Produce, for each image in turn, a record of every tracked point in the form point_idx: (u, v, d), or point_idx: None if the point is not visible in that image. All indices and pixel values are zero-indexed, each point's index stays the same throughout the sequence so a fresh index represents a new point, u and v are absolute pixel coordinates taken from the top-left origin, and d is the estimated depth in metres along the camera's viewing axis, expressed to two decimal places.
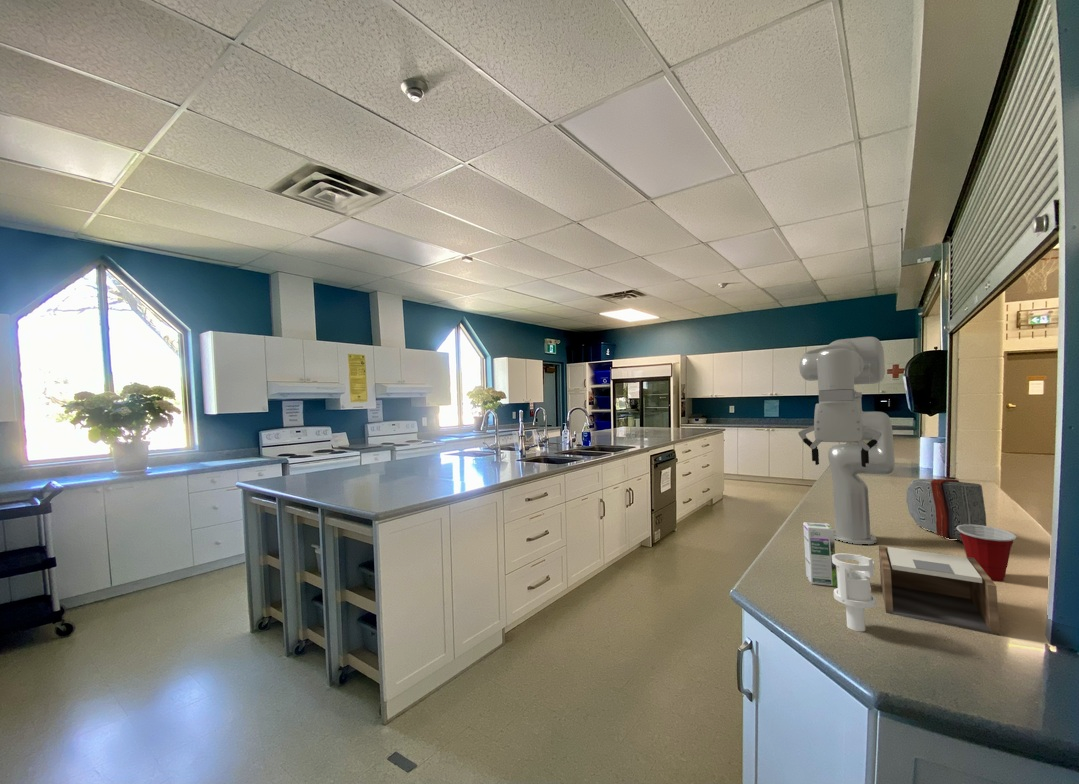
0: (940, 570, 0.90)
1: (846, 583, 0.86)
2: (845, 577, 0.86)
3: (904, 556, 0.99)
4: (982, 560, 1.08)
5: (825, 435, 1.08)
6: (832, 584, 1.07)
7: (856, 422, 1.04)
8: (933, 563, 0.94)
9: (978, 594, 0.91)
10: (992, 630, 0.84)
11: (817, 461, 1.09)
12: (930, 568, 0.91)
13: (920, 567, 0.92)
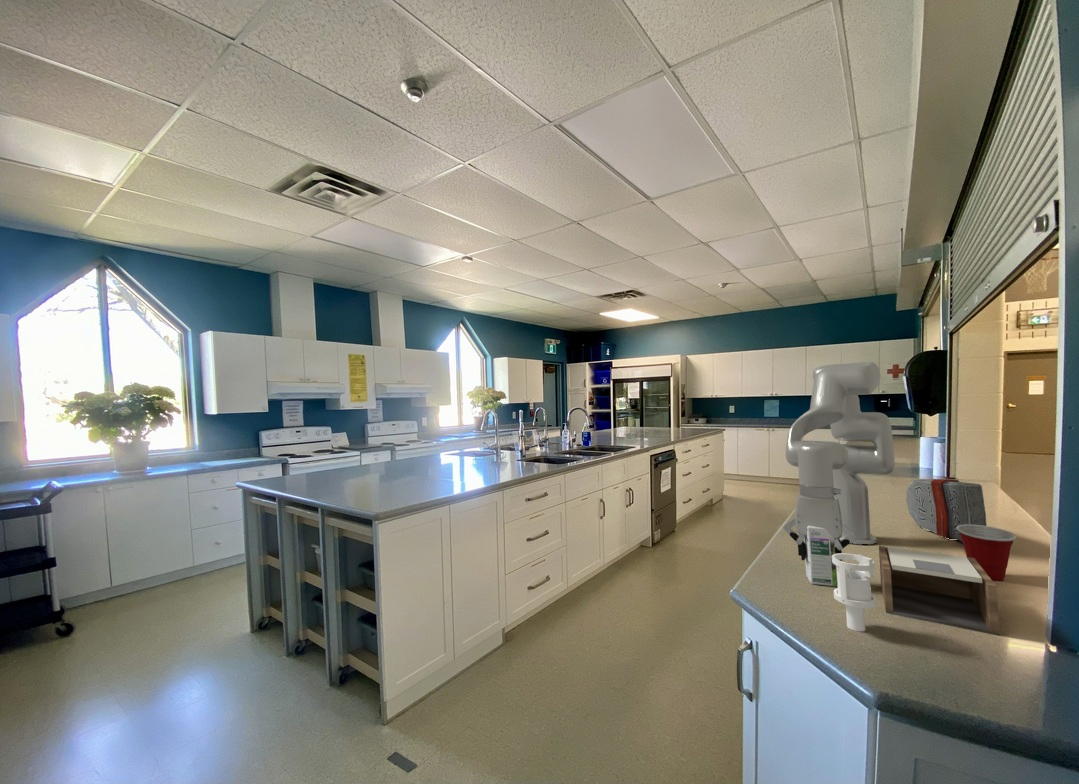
0: (940, 570, 0.90)
1: (846, 583, 0.86)
2: (845, 577, 0.86)
3: (904, 556, 0.99)
4: (982, 559, 1.08)
5: (805, 529, 1.10)
6: (832, 584, 1.07)
7: (835, 519, 1.07)
8: (933, 563, 0.94)
9: (978, 594, 0.91)
10: (992, 630, 0.84)
11: (803, 557, 1.11)
12: (930, 568, 0.91)
13: (920, 567, 0.92)
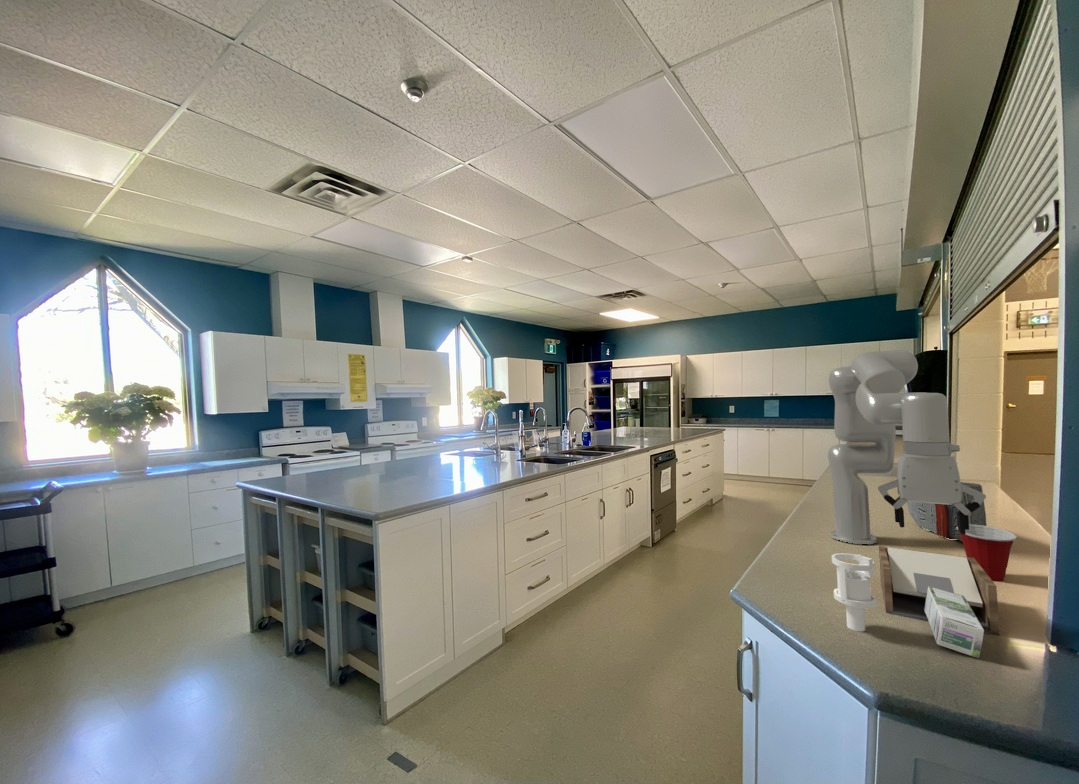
0: None
1: (846, 583, 0.86)
2: (845, 577, 0.86)
3: (904, 566, 0.99)
4: (982, 560, 1.08)
5: (913, 494, 0.92)
6: None
7: (953, 481, 0.88)
8: (934, 578, 0.94)
9: None
10: (992, 630, 0.84)
11: (903, 523, 0.94)
12: None
13: (921, 590, 0.92)
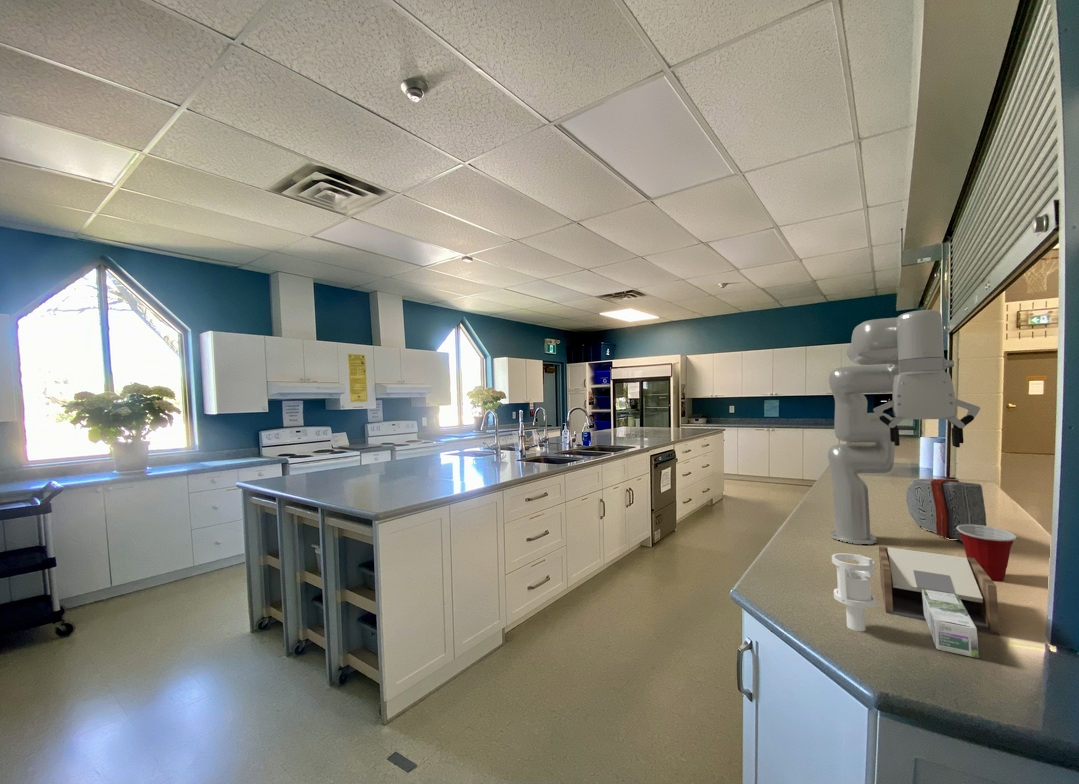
0: (941, 589, 0.90)
1: (846, 583, 0.86)
2: (845, 577, 0.86)
3: (904, 564, 0.99)
4: (982, 559, 1.08)
5: (908, 411, 0.93)
6: None
7: (948, 395, 0.89)
8: (934, 575, 0.94)
9: None
10: (992, 630, 0.84)
11: (898, 442, 0.94)
12: (931, 586, 0.91)
13: (921, 585, 0.92)
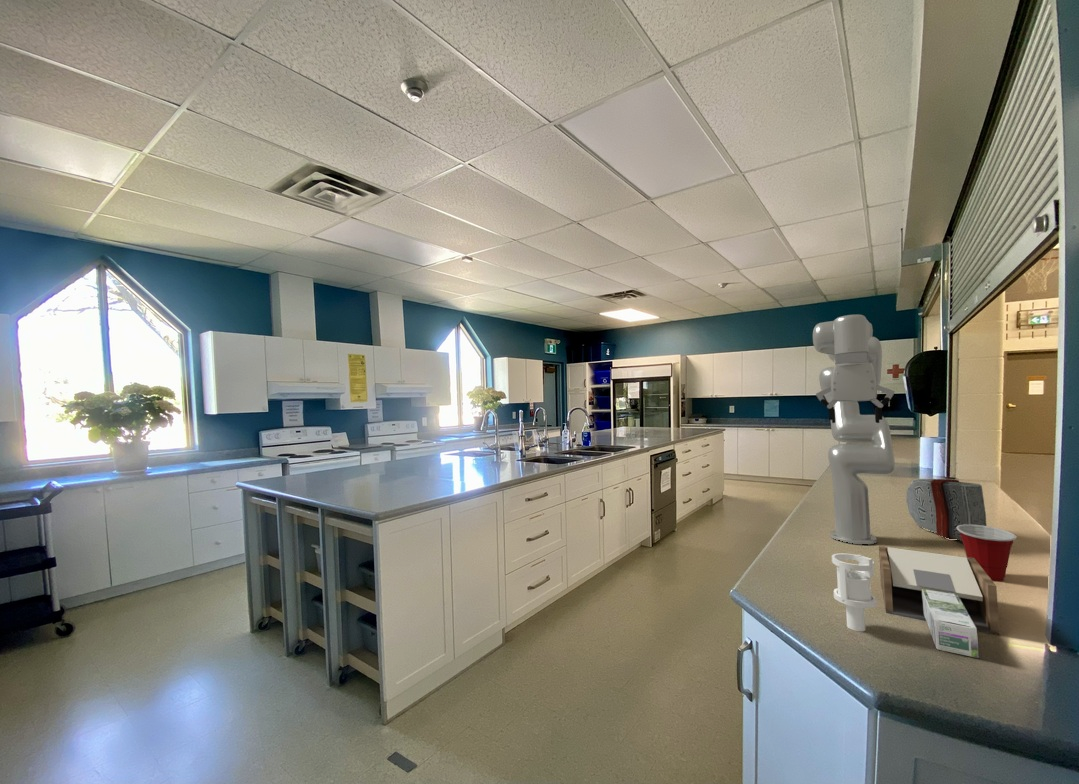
0: (941, 587, 0.90)
1: (846, 583, 0.86)
2: (845, 577, 0.86)
3: (904, 563, 0.99)
4: (982, 559, 1.08)
5: (841, 395, 1.17)
6: None
7: (870, 382, 1.13)
8: (934, 574, 0.94)
9: None
10: (992, 630, 0.84)
11: (834, 419, 1.18)
12: (931, 584, 0.91)
13: (921, 584, 0.92)
